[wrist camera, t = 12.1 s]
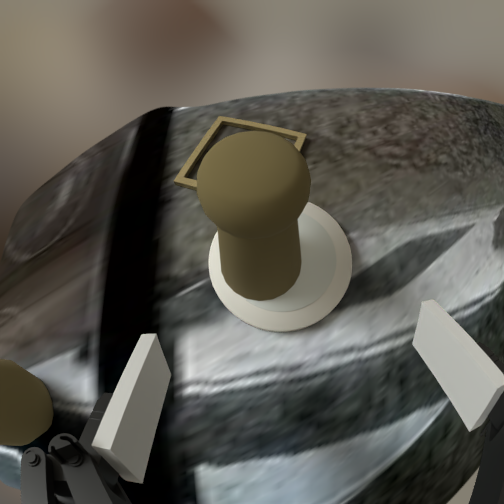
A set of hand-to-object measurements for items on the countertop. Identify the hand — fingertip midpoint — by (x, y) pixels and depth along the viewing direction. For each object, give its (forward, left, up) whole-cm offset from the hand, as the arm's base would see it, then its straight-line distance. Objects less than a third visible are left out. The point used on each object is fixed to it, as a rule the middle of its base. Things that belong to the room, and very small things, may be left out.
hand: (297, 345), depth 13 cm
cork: (+4, -6, -6) cm, 9 cm away
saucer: (+3, -7, -7) cm, 10 cm away
